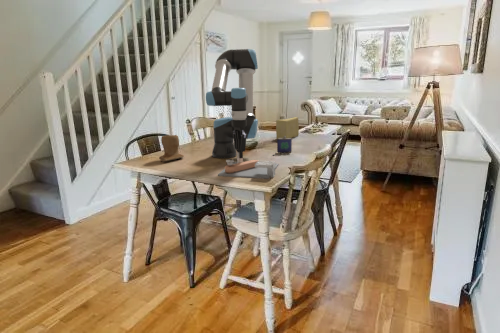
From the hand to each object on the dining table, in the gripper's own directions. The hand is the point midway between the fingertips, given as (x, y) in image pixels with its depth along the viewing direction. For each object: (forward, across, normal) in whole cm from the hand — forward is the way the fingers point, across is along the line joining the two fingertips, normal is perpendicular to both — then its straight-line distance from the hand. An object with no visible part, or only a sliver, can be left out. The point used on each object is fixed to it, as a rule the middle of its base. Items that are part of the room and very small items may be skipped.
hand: (240, 163), depth 181 cm
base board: (+3, +4, +3) cm, 6 cm away
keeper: (+3, +17, +5) cm, 18 cm away
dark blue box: (+3, -20, +42) cm, 46 cm away
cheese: (+3, -60, +73) cm, 95 cm away
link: (+2, +3, 0) cm, 4 cm away
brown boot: (+4, -42, -26) cm, 50 cm away
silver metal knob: (-1, +5, -8) cm, 9 cm away
